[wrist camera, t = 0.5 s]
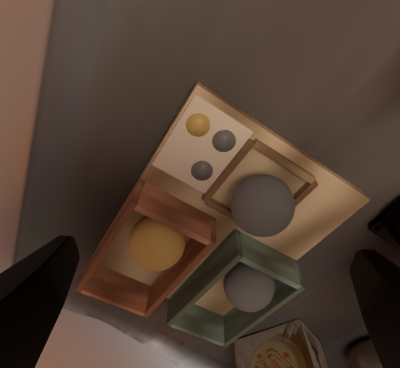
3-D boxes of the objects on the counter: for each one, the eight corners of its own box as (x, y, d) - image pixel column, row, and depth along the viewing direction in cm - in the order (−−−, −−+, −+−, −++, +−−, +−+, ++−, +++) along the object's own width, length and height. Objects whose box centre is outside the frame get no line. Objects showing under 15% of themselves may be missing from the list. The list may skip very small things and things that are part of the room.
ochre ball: (197, 218, 23) (194, 258, 19) (171, 249, 25) (164, 291, 21) (150, 193, 22) (137, 231, 18) (127, 228, 24) (111, 269, 20)
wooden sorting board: (364, 192, 22) (392, 225, 19) (222, 312, 32) (224, 348, 28) (197, 80, 18) (195, 97, 15) (90, 257, 27) (74, 292, 24)
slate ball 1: (298, 181, 21) (318, 218, 17) (261, 218, 23) (271, 259, 19) (252, 152, 20) (262, 185, 16) (217, 194, 22) (219, 233, 18)
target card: (253, 130, 19) (253, 132, 18) (204, 191, 21) (204, 194, 21) (195, 93, 17) (195, 94, 17) (152, 162, 20) (151, 165, 20)
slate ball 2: (279, 260, 25) (291, 303, 22) (249, 285, 27) (256, 328, 24) (241, 240, 24) (247, 282, 20) (213, 268, 26) (213, 311, 22)
